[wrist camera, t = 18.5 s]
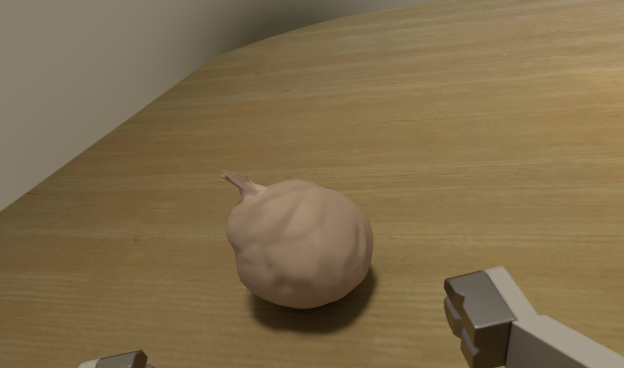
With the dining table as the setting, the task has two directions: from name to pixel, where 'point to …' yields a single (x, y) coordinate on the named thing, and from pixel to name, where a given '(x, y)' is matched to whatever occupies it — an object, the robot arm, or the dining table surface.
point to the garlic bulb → (298, 242)
